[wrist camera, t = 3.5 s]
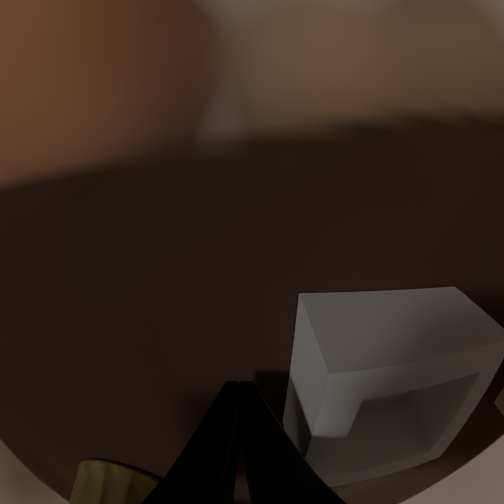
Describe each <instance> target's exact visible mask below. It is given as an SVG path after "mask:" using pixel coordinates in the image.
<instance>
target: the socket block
mask: <svg viewBox="0 0 504 504" xmlns="http://www.w3.org/2000/svg"><path fill="white" fill-rule="evenodd" d="M503 358H504V328H502V327H501V326H500V325H499V324H498V323H497V322H496V321H495V320H494V319H492V318H491V317H490V316H489V315H488V314H487V313H486V312H484V311H483V310H482V309H481V308H480V307H479V306H477V305H476V304H475V303H474V302H473V301H472V300H470V299H469V298H468V297H467V296H466V295H464V294H463V293H462V292H461V291H459V290H458V289H457V288H456V287H441V288H426V289H409V290H390V291H367V292H338V293H299V299H298V309H297V318H296V327H295V335H294V344H293V352H292V359H291V367H290V375H289V382H288V389H287V396H286V403H285V409H284V416H283V425H284V430H285V431H286V433H287V434H288V436H289V437H290V439H291V440H292V442H293V443H294V444H295V446H296V447H297V449H298V450H299V451H300V454H302V455H303V457H304V458H305V460H306V461H307V462H308V464H309V465H310V466H311V468H312V469H313V470H314V471H315V473H316V474H317V475H318V476H319V477H320V478H321V479H322V480H323V481H324V482H325V483H326V484H327V485H328V486H329V487H332V486H338V485H344V484H349V483H354V482H358V481H363V480H367V479H371V478H376V477H379V476H383V475H387V474H391V473H394V472H398V471H401V470H404V469H407V468H410V467H414V466H417V465H420V464H422V463H425V462H428V461H431V460H433V459H436V458H439V457H440V456H441V455H442V453H443V452H444V451H445V450H446V448H447V447H448V446H449V445H450V443H451V442H452V441H453V439H454V438H455V437H456V435H457V434H458V433H459V431H460V430H461V428H462V427H463V426H464V424H465V423H466V421H467V420H468V418H469V417H470V415H471V414H472V412H473V411H474V409H475V408H476V406H477V405H478V403H479V401H480V400H481V398H482V396H483V395H484V393H485V391H486V390H487V388H488V386H489V385H490V383H491V381H492V379H493V377H494V376H495V374H496V372H497V370H498V368H499V366H500V364H501V362H502V360H503Z"/></svg>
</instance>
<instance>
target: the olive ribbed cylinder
mask: <svg viewBox="0 0 504 504" xmlns="http://www.w3.org/2000/svg"><path fill="white" fill-rule="evenodd" d="M159 483H160V480H158V479H156V478H155V477H153V476H151V475H149V474H147V473H145V472H142V471H140V470H138V469H135V468H132V467H129V466H126V465H123V464H119V463H116V462H112V461H108V460H102V459H87V460H84V461H82V462H81V463H80V464H79V466H78V473H77V477H76V481H75V484H74V488H73V491H72V495H71V499H70V503H69V504H140V503H141V502H142V501H143V500H144V499H145V498H146V497H147V496H148V495H149V494H150V492H151V491H152V490H153V489H154V488H155V487H156V486H157V485H158V484H159Z"/></svg>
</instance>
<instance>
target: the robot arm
mask: <svg viewBox="0 0 504 504" xmlns="http://www.w3.org/2000/svg"><path fill="white" fill-rule="evenodd" d="M239 396H240V403H239ZM240 440H241V449H242V455H243V461H244V466H245V472H246V477H247V483H248V488H249V493H250V499H251V504H347V503H345V502H344V501H343V500H342V499H341V498H340V497H339V496H338V495H337V494H336V493H335V492H334V491H333V490H332V489H331V488H330V487H329V486H328V485H327V484H326V483H325V482H324V481H323V480H322V479H321V478H320V477H319V476H318V475H317V474H316V473H315V471H314V470H313V469H312V468H311V466H310V465H309V464H308V462H307V461H306V460H305V458H304V457H303V455H302V454H300V451H299V450H298V449H297V447H296V446H295V444H294V443H293V442H292V440H291V439H290V437H289V436H288V434H287V433H286V431H285V430H284V428H283V427H282V426H281V424H280V423H279V421H278V420H277V418H276V417H275V415H274V414H273V412H272V411H271V409H270V408H269V406H268V405H267V403H266V402H265V400H264V398H263V397H262V395H261V394H260V392H259V391H258V389H257V388H256V386H255V384H254V383H253V382H252V381H241V382H240V383H239V382H238V381H227V382H225V384H224V385H223V387H222V389H221V390H220V392H219V394H218V395H217V397H216V399H215V400H214V402H213V403H212V405H211V407H210V408H209V410H208V412H207V413H206V415H205V416H204V418H203V420H202V421H201V423H200V424H199V426H198V428H197V429H196V431H195V432H194V434H193V435H192V437H191V439H190V440H189V442H188V443H187V445H186V446H185V448H184V449H183V451H182V453H181V455H180V456H179V457H178V458H177V460H176V462H175V463H174V465H173V466H172V467H171V469H170V470H169V471H168V473H167V474H166V476H165V477H164V478H163V479H162V480H161V481H160V483H159V484H158V485H157V486H156V487H155V488H154V489H153V490H152V491H151V492H150V494H149V495H148V496H147V497H146V498H145V499H144V500H143V501H142V502H141V503H140V504H233V497H234V489H235V481H236V474H237V466H238V458H239V450H240Z"/></svg>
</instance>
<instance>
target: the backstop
mask: <svg viewBox="0 0 504 504" xmlns="http://www.w3.org/2000/svg"><path fill="white" fill-rule="evenodd" d="M494 404H495V405H496V406H497V408H498V409H499V410H500V412H501V413H502V414H503V416H504V387H503V388H502V390H501V392H500V393H499V395H498V397H497V398H496V400H495V401H494Z"/></svg>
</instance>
